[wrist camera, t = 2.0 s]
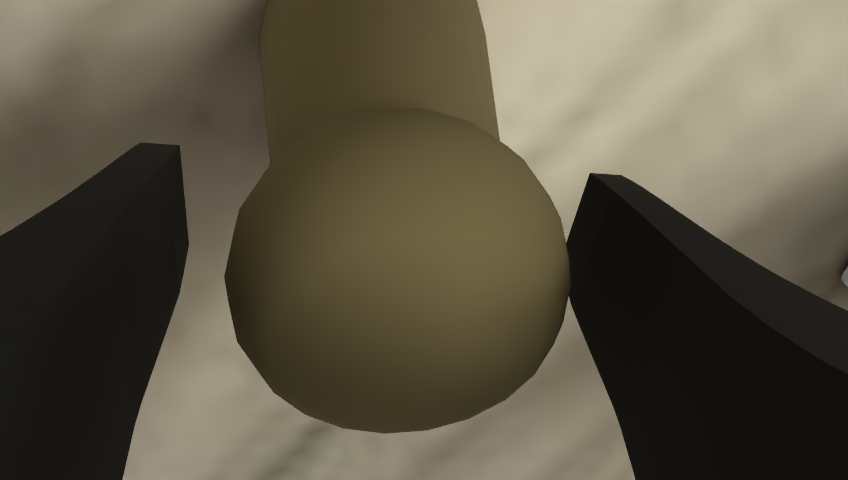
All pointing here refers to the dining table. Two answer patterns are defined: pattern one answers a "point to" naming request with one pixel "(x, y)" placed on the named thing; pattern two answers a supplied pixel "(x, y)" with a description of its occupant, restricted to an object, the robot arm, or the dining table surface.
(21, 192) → the dining table surface
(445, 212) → the cork
